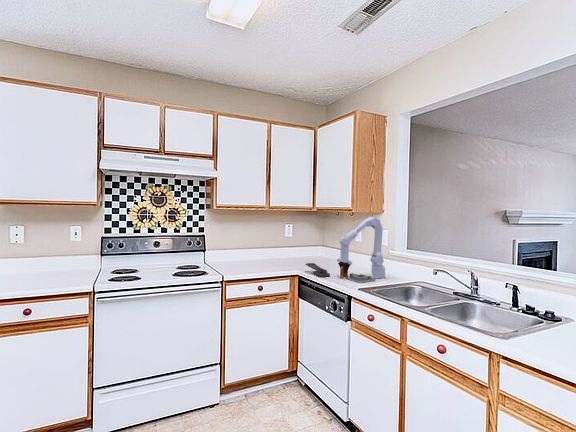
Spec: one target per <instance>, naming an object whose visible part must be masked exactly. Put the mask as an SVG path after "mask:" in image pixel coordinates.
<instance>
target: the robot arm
mask: <svg viewBox="0 0 576 432" xmlns="http://www.w3.org/2000/svg"><path fill="white" fill-rule="evenodd" d="M367 227H368V228H369V227H371V228H372V229H373V230H374V239H373V251H372V253H371V257H370V262H371V274H370V275H369V276H370V278H371V275H374V279H383V278H386V268H385V265H383V264H384V262H385V261H384V257H383V256H384V255H383V253H382V246H383V243H382V242H383V232H384V231H383V226H382V223H381V220H380V219H379V218H378V217H376V216H369V217H367V218H365V219H364V220H363V221H362V222H361V223H360V224H359V225H358V226H357V227H356V228H355V229H351V230H349V231H348V233H347V234H345V235H344V236H342V237H341V238H340V240H339V244H340V257H339V258H336V262H337V264H338V266H339V267H340V266H344V273H347V272H348V273H349V269H350V267H351V265H353V261H351V260H349V257H350V256H349V255H350V254H349V253H350V250H349V248H350V247H349V246H350V244H351V242H353V240H354V239H355V238H357V237H358V234H359V233H360V232H362V230H363V229H365V228H367Z"/></svg>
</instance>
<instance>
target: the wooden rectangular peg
mask: <svg viewBox="0 0 576 432" xmlns="http://www.w3.org/2000/svg"><path fill="white" fill-rule="evenodd" d="M339 268H340V270H339V272H340V273H339V275H340V276H339V278H340V279H346V277H349V276H348V275H349V271H348V272H347V273H344V266H339Z"/></svg>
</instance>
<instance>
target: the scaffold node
mask: <svg viewBox="0 0 576 432" xmlns="http://www.w3.org/2000/svg"><path fill="white" fill-rule="evenodd" d="M370 276H371V277H370ZM345 279H346V280H348V281H351V282H354V283H357V284H364V283H365V284H366V283H371V282H376V279H377V278H374V275H371V274H370V275H367V274H358V273H354V272H351V273H349V276H348V277H346V278H345Z"/></svg>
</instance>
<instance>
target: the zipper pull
mask: <svg viewBox="0 0 576 432" xmlns="http://www.w3.org/2000/svg"><path fill="white" fill-rule="evenodd" d="M305 266H307V267H309V268H311V269H313V270H314V271H312V275H313V274H314V276H315V275H316V277H317V278H321V279H325V278H326V277H328V278H330V277H331V274H330V273H328V270H327V269H325V268H323V267H320V265H318V264H316V263H314V262H308V263H305Z"/></svg>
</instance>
